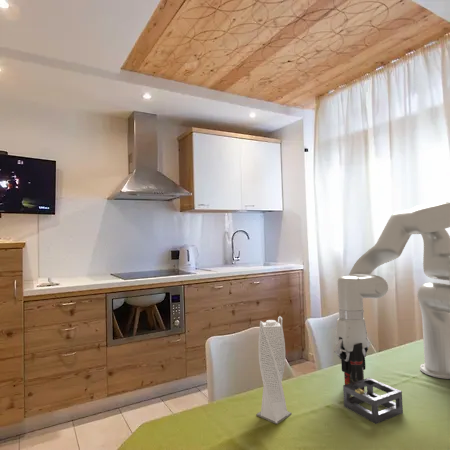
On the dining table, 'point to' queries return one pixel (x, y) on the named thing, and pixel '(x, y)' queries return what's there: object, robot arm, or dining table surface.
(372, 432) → the dining table surface
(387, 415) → the grey open cube frame
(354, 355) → the deodorant
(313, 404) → the dining table surface
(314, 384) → the dining table surface
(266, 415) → the skyscraper
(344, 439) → the dining table surface
